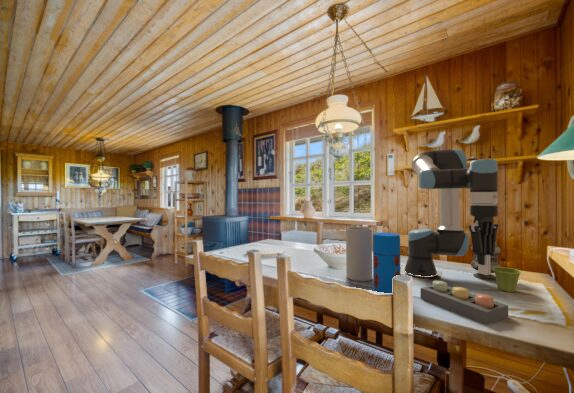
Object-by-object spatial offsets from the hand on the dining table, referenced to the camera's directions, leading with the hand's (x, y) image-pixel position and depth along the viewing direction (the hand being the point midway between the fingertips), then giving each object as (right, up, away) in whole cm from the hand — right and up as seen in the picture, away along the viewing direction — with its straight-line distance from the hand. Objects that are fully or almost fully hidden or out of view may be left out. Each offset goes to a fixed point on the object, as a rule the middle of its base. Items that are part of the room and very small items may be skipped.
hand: (484, 273), depth 88 cm
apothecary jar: (+32, -14, +41) cm, 54 cm away
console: (-3, -14, +7) cm, 16 cm away
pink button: (0, -12, 0) cm, 12 cm away
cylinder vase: (-31, -15, +42) cm, 54 cm away
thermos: (-25, -15, +21) cm, 36 cm away
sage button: (-6, -12, +15) cm, 20 cm away
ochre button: (-3, -12, +7) cm, 14 cm away
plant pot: (+28, -14, +24) cm, 39 cm away
